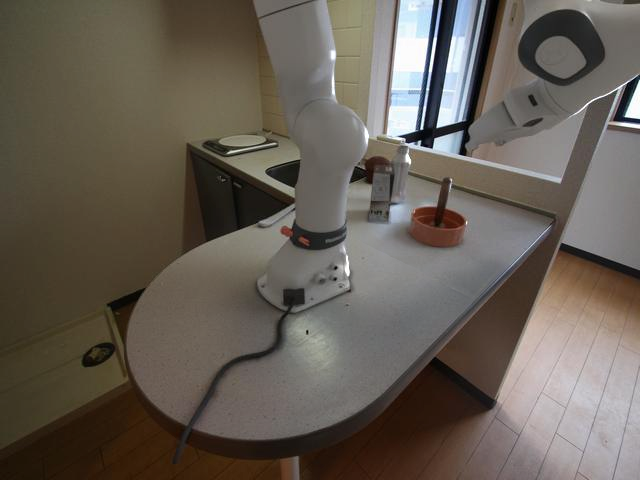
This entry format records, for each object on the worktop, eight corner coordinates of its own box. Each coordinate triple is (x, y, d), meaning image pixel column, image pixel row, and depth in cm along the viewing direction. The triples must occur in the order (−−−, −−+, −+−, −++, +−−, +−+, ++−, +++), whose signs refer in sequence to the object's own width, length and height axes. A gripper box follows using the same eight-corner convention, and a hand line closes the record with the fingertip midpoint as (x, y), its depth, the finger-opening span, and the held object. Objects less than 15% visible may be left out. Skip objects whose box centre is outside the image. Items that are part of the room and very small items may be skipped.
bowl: (446, 255, 85) (451, 235, 82) (398, 234, 94) (401, 216, 91) (470, 236, 94) (475, 218, 91) (424, 219, 103) (428, 202, 100)
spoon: (318, 190, 123) (317, 184, 122) (334, 194, 119) (334, 188, 118) (251, 227, 99) (250, 219, 98) (270, 234, 95) (269, 226, 94)
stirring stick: (438, 238, 91) (452, 181, 82) (424, 233, 94) (436, 177, 85) (445, 233, 94) (459, 177, 85) (432, 228, 97) (444, 173, 88)
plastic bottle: (408, 203, 114) (418, 147, 104) (395, 207, 111) (403, 150, 101) (395, 197, 119) (403, 143, 109) (382, 201, 116) (389, 145, 105)
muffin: (359, 183, 131) (361, 159, 126) (365, 174, 140) (368, 152, 135) (388, 187, 128) (391, 162, 123) (392, 178, 137) (395, 155, 132)
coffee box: (388, 223, 100) (395, 174, 92) (368, 221, 101) (373, 172, 93) (388, 211, 108) (395, 165, 100) (369, 209, 109) (374, 163, 101)
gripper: (569, 86, 61) (506, 129, 74) (502, 90, 53) (444, 137, 65) (584, 114, 60) (518, 152, 73) (519, 122, 52) (457, 165, 64)
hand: (483, 145), depth 69 cm, fingers open, 8 cm apart
